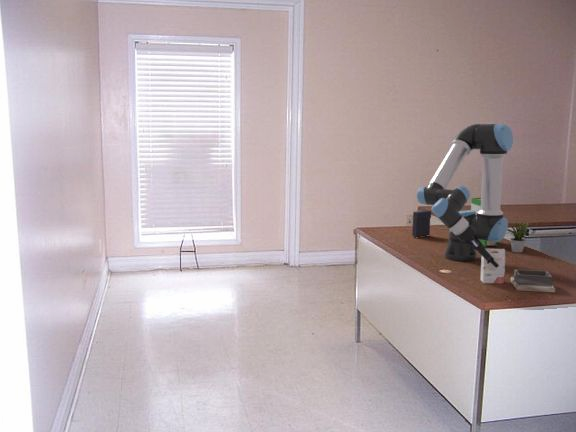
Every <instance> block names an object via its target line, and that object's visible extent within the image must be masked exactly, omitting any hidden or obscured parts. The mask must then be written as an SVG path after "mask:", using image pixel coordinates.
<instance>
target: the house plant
mask: <svg viewBox="0 0 576 432" xmlns="http://www.w3.org/2000/svg"><path fill="white" fill-rule="evenodd" d="M512 223H513V224H514V226H513V225H512V224H510V223H508V226H510V227H511V229H509V228H507V232H506V234H505V235H508V233H509V234H510V235H511V236H512V238H510V245H511V246H510V247H511V252H513V253H523V252H524V249H525V248H524V247H525V244H526V239H524V238H523V237H524V236H526V235H529V233H527V232H528V231H526V230H527V229H528V228H529V227H530V225H531V224H530V221H528V222H527V221H526V222H523V223H522V222H521V220H520V221H519V223H517V222H516V220H513V221H512ZM521 223H522V224H521Z"/></svg>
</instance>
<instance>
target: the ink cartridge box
mask: <svg viewBox="0 0 576 432" xmlns="http://www.w3.org/2000/svg"><path fill="white" fill-rule="evenodd" d="M485 250H486V251H487V252H488V253H489V254H490V255H491V256H492V257H493V258H494V259H495V260H496V261H497V262H498V263H499V264H500V265H501V266H502V267H503V268H504V269H505V271H506V249H505V248H487V249H485ZM480 258H481V259H480V260H481V261H480V263H481V264H480V281H481V282H482V284H499V285H500V284H504V283H505V274H506V273H505V271H504V272H503V273H501V274H499V272H498V271H497V270H496V269H495V268H494V267H493V266H492V265H491V264H490V263H489V264H487V260H486V259H485V258H484V257H483V256H482V255H481V257H480Z"/></svg>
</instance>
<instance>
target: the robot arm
mask: <svg viewBox="0 0 576 432" xmlns="http://www.w3.org/2000/svg"><path fill="white" fill-rule="evenodd" d="M513 143H514V136H513V131H512V129H511V128H510V126H509V125H507V124H505V123H503V124H501V123H487V124H486V123H475V124H471V125H468V126H467V127H465V128H463V129H462V130H461V131H460V132H459V133H457V134H456V136H455V137H454V138H453V139H452V141H451V143H450V148H449V150H448V151H447V153H446V155H445V156H444V159H443V160H442V161H441V164H440V165H439V166H438V168H437V169H436V171H435V173H434V175H433V176H432V178H431V179H430V181H429V183H428V185H426V186H421V187H420V188H419V189H418V191H417V193H416V198H417V201H418V203H420V204H422V205H426V206H432V207H431V210H430V211H431V213H433V214H434V215H435V217H436V218H438V219H439V220H440V221H441V223H442V224H444V225H445V227H447V228H448V232H449V233H448V243H447V246H446V248H445V251H444V258H446V259H448V260H453V261H457V262H471V261H475V260H477V258H478V253H479V254H480V255H481V257H482V256H483V257H484V258H485V259H486V260H487V264H489V263H490V264H491V265H492V266H493V267H494V268H495V269H496V270H497V271H498V272H499V274H501V273H503V272H504V271H506V268H505V269H504V268H503V267H502V266H501V265H500V264H499V263H498V262H497V261H496V260H495V259H494V258H493V257H492V256H491V255H490V254H489V253H488V252H487V251H486V250H485V249H488V248H487V246H486V247H485V246H484V245H483V244H482V243H481V241H480V240H485V241H489V242H491V241H492V242H498V243H499V242H501V241H503V239H504V238H505V236H506V235H507V234H506V233H508V230H507V229H509V222H508V219H507V217H504V212H503V210H501V201H502V185H503V184H502V183H503V182H502V181H503V166H504V165H503V164H504V158H505V156H506V155H507V154H508V151H510V150H511V149H512V148H513ZM474 150H479V155H480V156H481V157H482V172H481V173H482V174H481V176H482V177H481V191H480V192H481V193H480V194H481V195H480V198H481V209H480V210H479V211H477V215H476V212H475V211H473V210H471V209H468V210H462V209H463V208H464V206H466V204H467V203H468V201H469V200H470V197H471V193H470V190H469V189H468V188H467V187H466V186H463V185H458V186H455V187H454V188H453V189H448V186H449V185H450V182H451V181H452V179H453V177H454V176H455V174H456V173H457V170H458V169H459V167H460V165H461V164H462V162H463V161H464V159H465V157H466V156H468V155H470V153H471V151H474ZM477 252H478V253H477Z"/></svg>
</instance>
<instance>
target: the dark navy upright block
mask: <svg viewBox="0 0 576 432" xmlns="http://www.w3.org/2000/svg"><path fill="white" fill-rule="evenodd" d="M431 218H432V210H427V209H426V210H419V211H413V212H412V232H411V233H412V234H411V235H412V236H414V237H420V238H422V237H421V236H426V237H428V236H427V235H429V236H430V234H431V233H430V230H431V229H430V228H431ZM414 237H413V238H414Z"/></svg>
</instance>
